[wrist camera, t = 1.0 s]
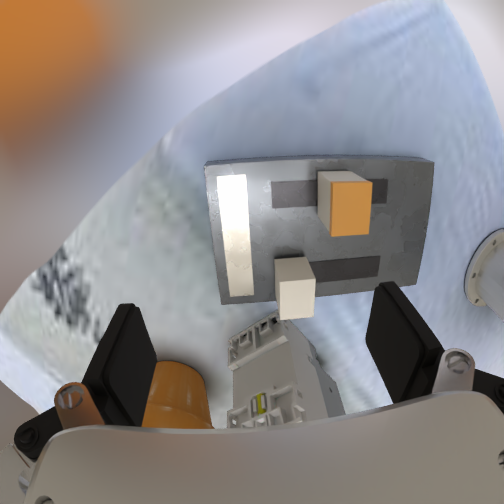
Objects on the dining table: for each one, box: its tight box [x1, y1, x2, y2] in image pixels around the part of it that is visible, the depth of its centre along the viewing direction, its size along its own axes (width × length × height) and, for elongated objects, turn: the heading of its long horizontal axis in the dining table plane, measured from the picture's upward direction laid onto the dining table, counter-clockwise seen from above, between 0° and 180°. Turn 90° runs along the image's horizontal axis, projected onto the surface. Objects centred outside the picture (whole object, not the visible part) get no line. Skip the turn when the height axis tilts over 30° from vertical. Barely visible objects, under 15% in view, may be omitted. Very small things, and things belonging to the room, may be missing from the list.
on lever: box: [274, 257, 316, 320], centre depth 27 cm, size 3×4×4 cm
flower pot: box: [141, 361, 215, 429], centre depth 33 cm, size 14×14×13 cm
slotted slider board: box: [204, 155, 434, 305], centre depth 28 cm, size 22×14×3 cm, turn 94°
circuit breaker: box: [227, 310, 346, 428], centre depth 31 cm, size 8×14×15 cm, turn 38°
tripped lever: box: [318, 171, 372, 237], centre depth 23 cm, size 3×4×5 cm
